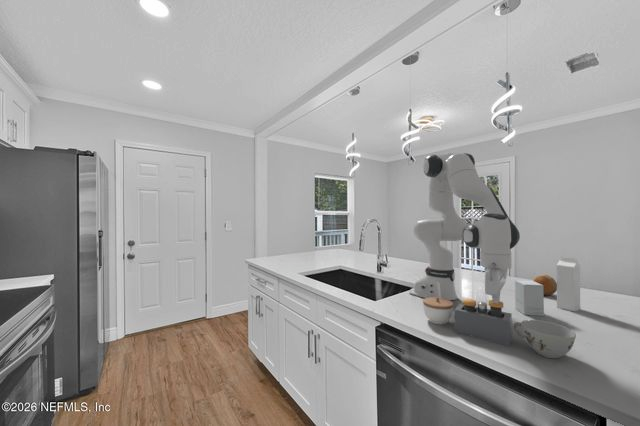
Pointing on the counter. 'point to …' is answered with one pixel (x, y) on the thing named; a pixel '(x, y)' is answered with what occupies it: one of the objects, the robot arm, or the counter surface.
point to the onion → (547, 284)
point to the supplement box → (529, 298)
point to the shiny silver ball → (482, 307)
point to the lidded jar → (438, 310)
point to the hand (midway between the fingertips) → (496, 302)
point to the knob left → (469, 305)
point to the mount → (484, 325)
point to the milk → (568, 284)
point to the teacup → (547, 337)
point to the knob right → (496, 309)
